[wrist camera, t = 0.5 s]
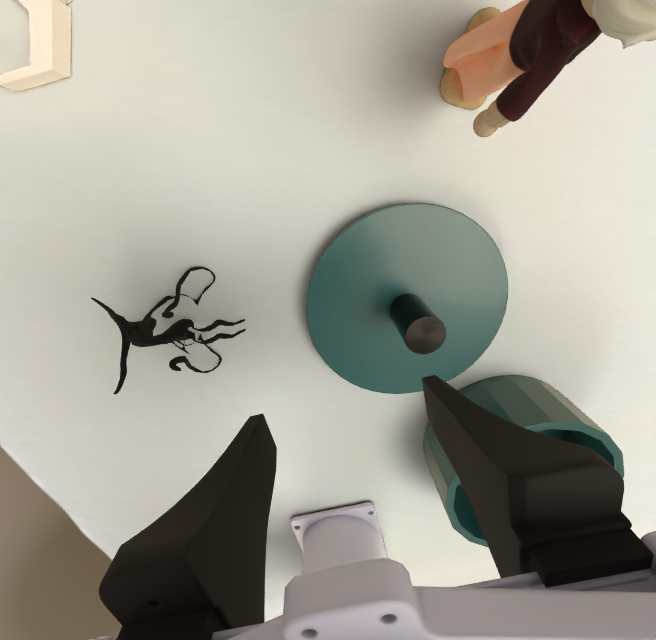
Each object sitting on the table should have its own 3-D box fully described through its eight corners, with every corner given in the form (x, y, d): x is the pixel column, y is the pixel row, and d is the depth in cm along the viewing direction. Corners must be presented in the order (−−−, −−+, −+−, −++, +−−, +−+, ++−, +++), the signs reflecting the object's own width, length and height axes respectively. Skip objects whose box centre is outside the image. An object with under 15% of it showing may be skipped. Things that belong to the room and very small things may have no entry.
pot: (565, 473, 31) (615, 532, 26) (430, 500, 32) (452, 562, 26) (573, 359, 26) (636, 404, 21) (413, 394, 27) (436, 445, 22)
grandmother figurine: (470, -30, 17) (832, -503, 5) (536, 1, 17) (1001, -362, 6) (411, 138, 20) (556, 83, 8) (470, 159, 20) (687, 137, 8)
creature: (242, 262, 23) (111, 262, 21) (245, 285, 18) (76, 289, 16) (246, 361, 26) (132, 370, 24) (250, 403, 21) (108, 419, 19)
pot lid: (502, 364, 26) (544, 406, 21) (330, 401, 27) (334, 449, 22) (497, 178, 21) (551, 178, 16) (282, 231, 21) (273, 246, 17)
